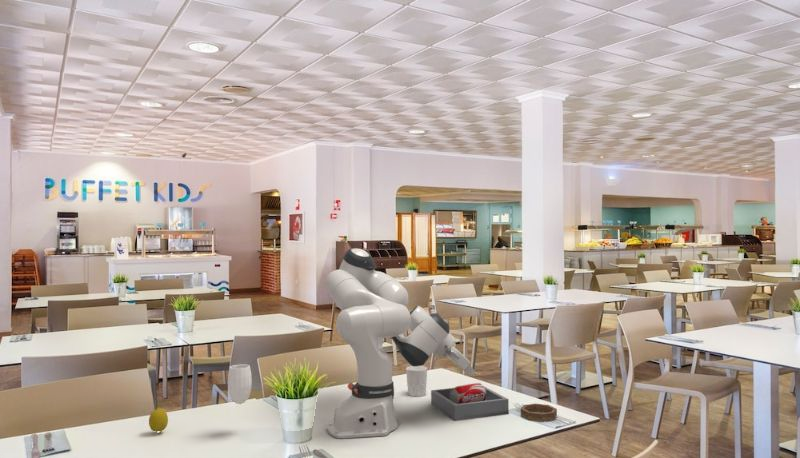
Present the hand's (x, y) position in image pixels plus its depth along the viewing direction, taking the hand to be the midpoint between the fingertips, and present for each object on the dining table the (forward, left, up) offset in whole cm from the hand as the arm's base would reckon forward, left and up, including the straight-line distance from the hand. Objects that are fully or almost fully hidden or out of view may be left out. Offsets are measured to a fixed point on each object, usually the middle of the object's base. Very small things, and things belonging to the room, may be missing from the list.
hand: (470, 370), depth 210 cm
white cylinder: (-11, +24, -14) cm, 30 cm away
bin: (-1, 0, -13) cm, 13 cm away
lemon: (-102, +13, -14) cm, 103 cm away
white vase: (-78, +4, -14) cm, 79 cm away
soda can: (+6, +2, -9) cm, 11 cm away
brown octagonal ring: (+17, -16, -13) cm, 27 cm away
